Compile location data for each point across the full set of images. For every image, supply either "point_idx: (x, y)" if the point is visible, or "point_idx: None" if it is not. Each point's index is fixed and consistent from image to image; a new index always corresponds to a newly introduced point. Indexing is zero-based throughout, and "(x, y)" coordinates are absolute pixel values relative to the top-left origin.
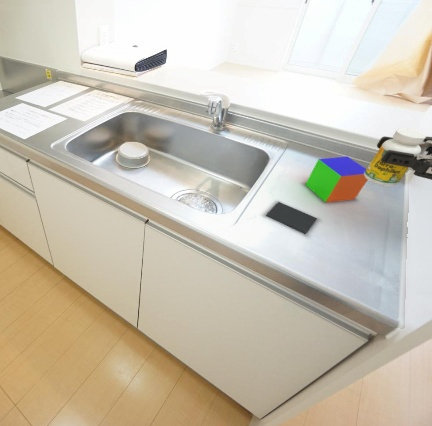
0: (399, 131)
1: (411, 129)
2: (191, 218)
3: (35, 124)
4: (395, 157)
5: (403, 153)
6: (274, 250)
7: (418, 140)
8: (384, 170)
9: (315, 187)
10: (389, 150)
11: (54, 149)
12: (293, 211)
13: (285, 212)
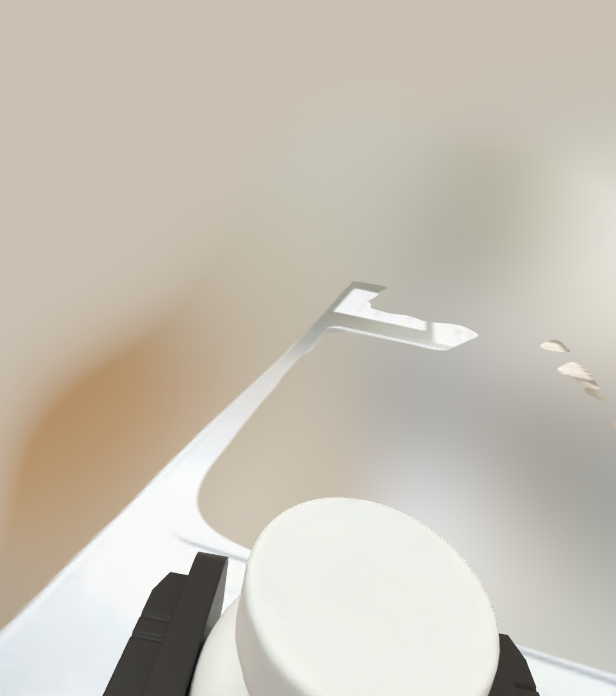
0: (357, 506)
1: (485, 619)
2: (188, 464)
3: (380, 313)
4: (147, 603)
5: (171, 632)
6: (61, 637)
7: (242, 628)
8: None
9: None
10: (218, 558)
11: (327, 329)
12: None
13: None
